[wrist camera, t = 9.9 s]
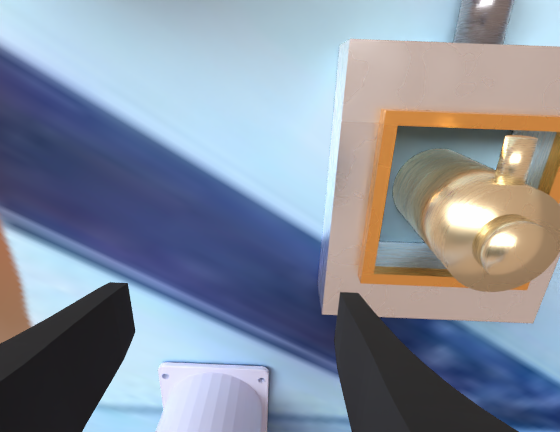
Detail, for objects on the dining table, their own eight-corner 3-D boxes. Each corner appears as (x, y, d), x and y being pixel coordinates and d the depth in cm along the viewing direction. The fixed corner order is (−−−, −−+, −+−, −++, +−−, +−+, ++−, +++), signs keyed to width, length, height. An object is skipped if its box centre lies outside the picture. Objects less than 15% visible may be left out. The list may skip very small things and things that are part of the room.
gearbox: (502, 292, 22) (542, 333, 19) (317, 284, 22) (323, 323, 19) (607, -19, 16) (700, -46, 12) (346, -28, 16) (362, -58, 12)
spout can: (463, 224, 20) (563, 308, 13) (387, 222, 20) (444, 306, 13) (488, 117, 18) (628, 147, 11) (403, 116, 18) (483, 145, 11)
